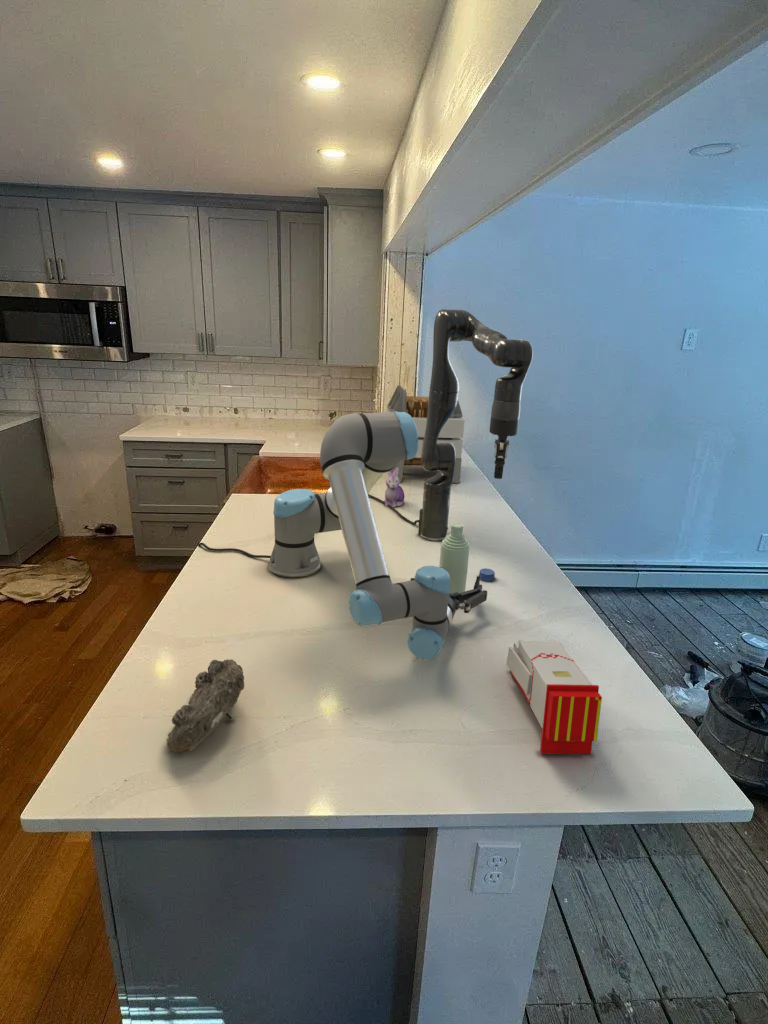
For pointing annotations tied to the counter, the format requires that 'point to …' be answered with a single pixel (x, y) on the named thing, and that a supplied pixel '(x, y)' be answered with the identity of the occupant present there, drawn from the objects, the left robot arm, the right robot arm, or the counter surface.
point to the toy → (557, 696)
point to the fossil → (206, 705)
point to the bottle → (455, 558)
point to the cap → (486, 574)
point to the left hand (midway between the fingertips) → (453, 576)
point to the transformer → (418, 412)
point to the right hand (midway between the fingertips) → (498, 474)
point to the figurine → (393, 490)
